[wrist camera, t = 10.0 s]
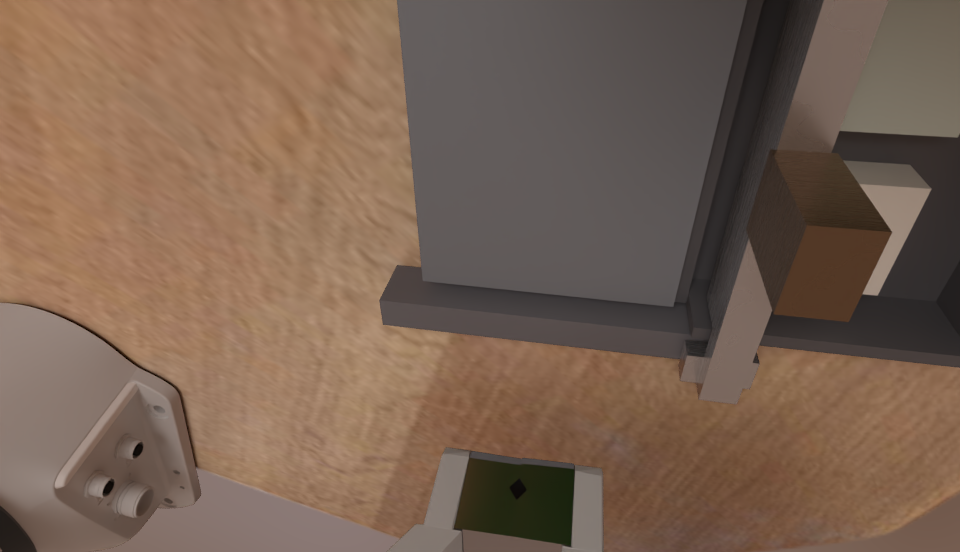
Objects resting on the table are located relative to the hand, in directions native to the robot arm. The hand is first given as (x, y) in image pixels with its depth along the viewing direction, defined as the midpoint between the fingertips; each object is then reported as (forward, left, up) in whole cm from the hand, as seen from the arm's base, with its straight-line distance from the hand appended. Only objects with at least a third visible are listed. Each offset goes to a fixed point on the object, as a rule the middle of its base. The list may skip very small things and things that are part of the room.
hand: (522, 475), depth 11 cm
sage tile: (+4, -11, -17) cm, 20 cm away
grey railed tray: (0, +1, -17) cm, 17 cm away
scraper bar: (0, -7, -15) cm, 17 cm away
